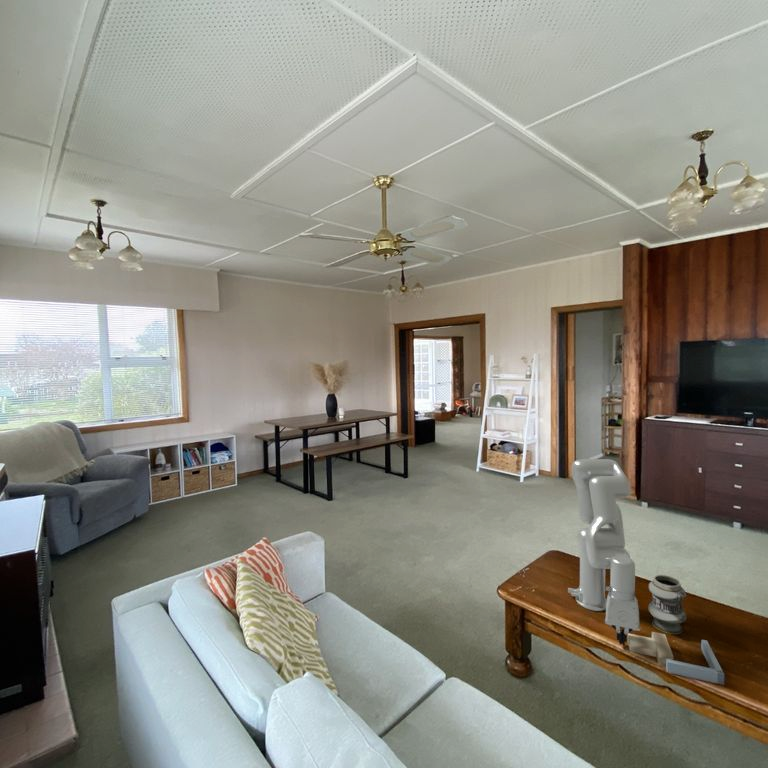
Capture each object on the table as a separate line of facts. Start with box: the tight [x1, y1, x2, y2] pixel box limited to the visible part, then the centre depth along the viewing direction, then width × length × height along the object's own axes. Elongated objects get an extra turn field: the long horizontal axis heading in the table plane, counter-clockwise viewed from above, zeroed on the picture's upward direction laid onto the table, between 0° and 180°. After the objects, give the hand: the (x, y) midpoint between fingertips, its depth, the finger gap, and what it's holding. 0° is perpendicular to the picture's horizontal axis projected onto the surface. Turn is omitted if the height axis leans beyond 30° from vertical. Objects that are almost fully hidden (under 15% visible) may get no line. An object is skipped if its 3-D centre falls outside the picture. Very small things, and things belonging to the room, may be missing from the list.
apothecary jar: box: [647, 574, 687, 635], centre depth 160 cm, size 12×12×18 cm
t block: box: [627, 631, 674, 667], centre depth 147 cm, size 12×12×4 cm
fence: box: [665, 639, 725, 686], centre depth 142 cm, size 15×17×4 cm
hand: (621, 642), depth 150 cm, fingers closed
